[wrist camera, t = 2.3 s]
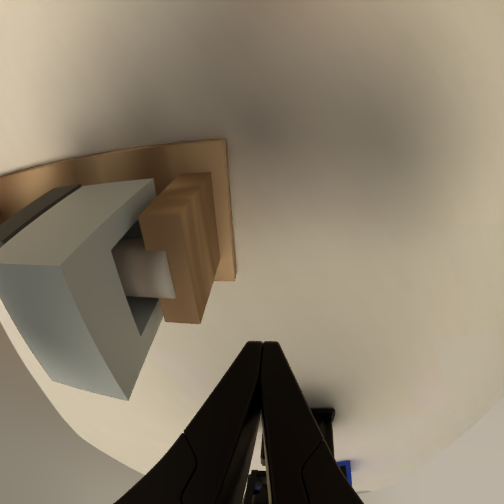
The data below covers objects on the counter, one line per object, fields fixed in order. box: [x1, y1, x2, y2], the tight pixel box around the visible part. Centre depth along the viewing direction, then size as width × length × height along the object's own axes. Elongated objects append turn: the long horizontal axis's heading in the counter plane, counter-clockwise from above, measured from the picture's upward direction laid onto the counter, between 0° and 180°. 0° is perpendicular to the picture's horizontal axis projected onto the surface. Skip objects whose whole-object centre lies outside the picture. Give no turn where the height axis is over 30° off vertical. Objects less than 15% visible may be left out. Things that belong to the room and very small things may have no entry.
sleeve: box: [0, 178, 164, 401], centre depth 11 cm, size 4×6×7 cm, turn 3°
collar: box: [0, 184, 81, 248], centre depth 12 cm, size 2×6×6 cm, turn 3°
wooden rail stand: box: [0, 139, 236, 324], centre depth 14 cm, size 20×8×7 cm, turn 93°
